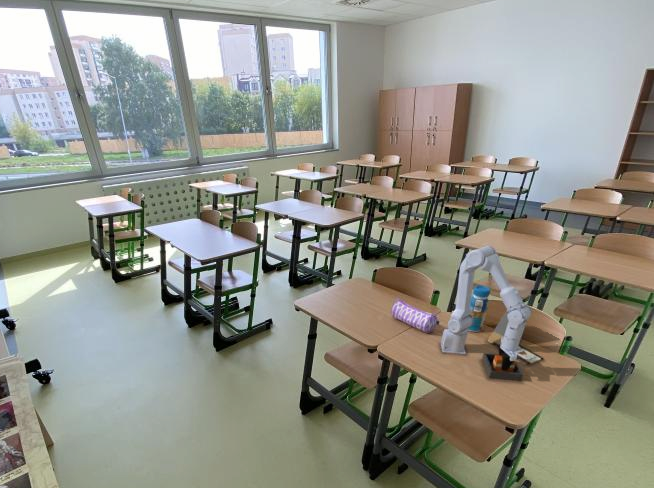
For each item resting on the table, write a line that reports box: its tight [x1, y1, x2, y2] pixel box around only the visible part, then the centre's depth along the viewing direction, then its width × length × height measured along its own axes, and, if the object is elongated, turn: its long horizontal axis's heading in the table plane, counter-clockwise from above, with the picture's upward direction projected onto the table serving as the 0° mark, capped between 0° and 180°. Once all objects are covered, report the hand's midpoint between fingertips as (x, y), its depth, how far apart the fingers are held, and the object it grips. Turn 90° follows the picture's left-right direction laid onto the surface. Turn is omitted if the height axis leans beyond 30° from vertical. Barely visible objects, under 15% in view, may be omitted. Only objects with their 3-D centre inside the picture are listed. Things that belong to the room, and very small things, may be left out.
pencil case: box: [391, 297, 440, 334], centre depth 184 cm, size 22×9×10 cm, turn 42°
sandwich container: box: [486, 309, 509, 345], centre depth 172 cm, size 9×15×15 cm, turn 131°
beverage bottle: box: [468, 285, 491, 333], centre depth 179 cm, size 8×8×20 cm
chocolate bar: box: [492, 342, 544, 365], centre depth 167 cm, size 9×1×18 cm
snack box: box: [492, 355, 517, 373], centre depth 153 cm, size 7×3×5 cm, turn 82°
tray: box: [481, 352, 524, 382], centre depth 154 cm, size 12×14×4 cm
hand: (502, 366), depth 154 cm, fingers open, 4 cm apart
